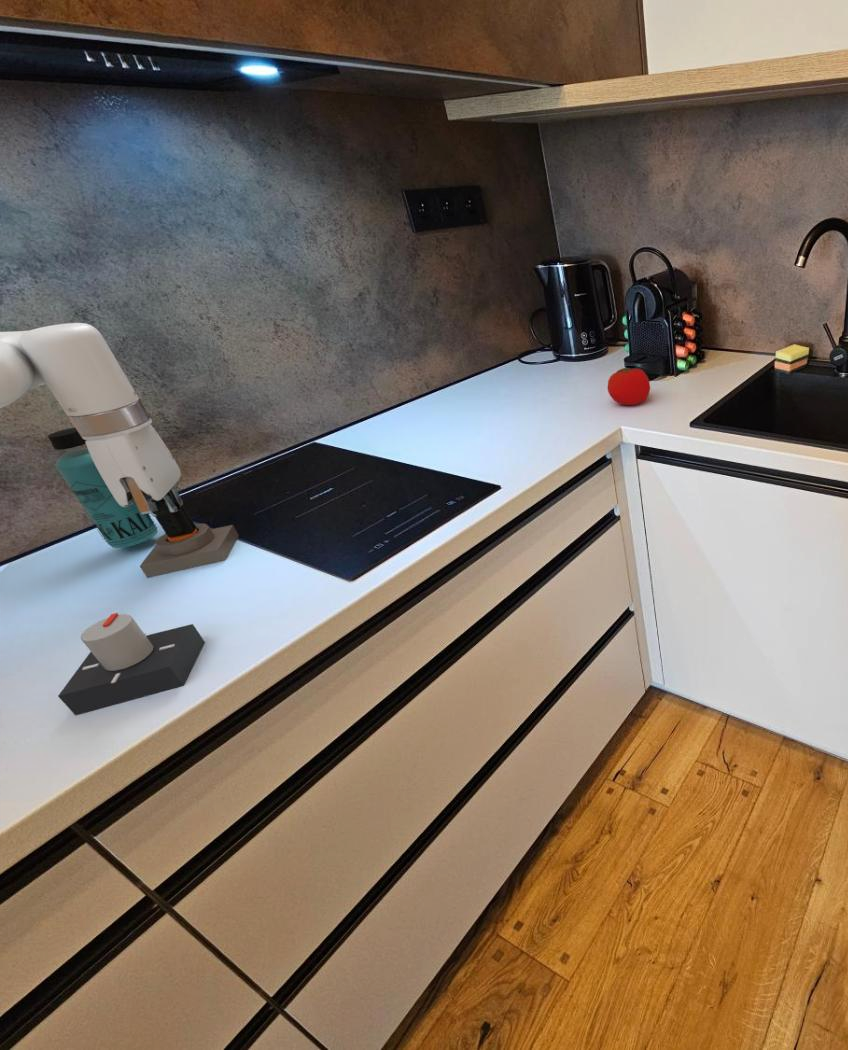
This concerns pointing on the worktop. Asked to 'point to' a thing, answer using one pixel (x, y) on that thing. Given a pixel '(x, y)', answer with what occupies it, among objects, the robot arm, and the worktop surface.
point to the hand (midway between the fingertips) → (183, 532)
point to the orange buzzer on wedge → (190, 550)
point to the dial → (117, 642)
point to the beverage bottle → (99, 495)
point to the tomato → (629, 386)
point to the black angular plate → (135, 672)
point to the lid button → (182, 536)
